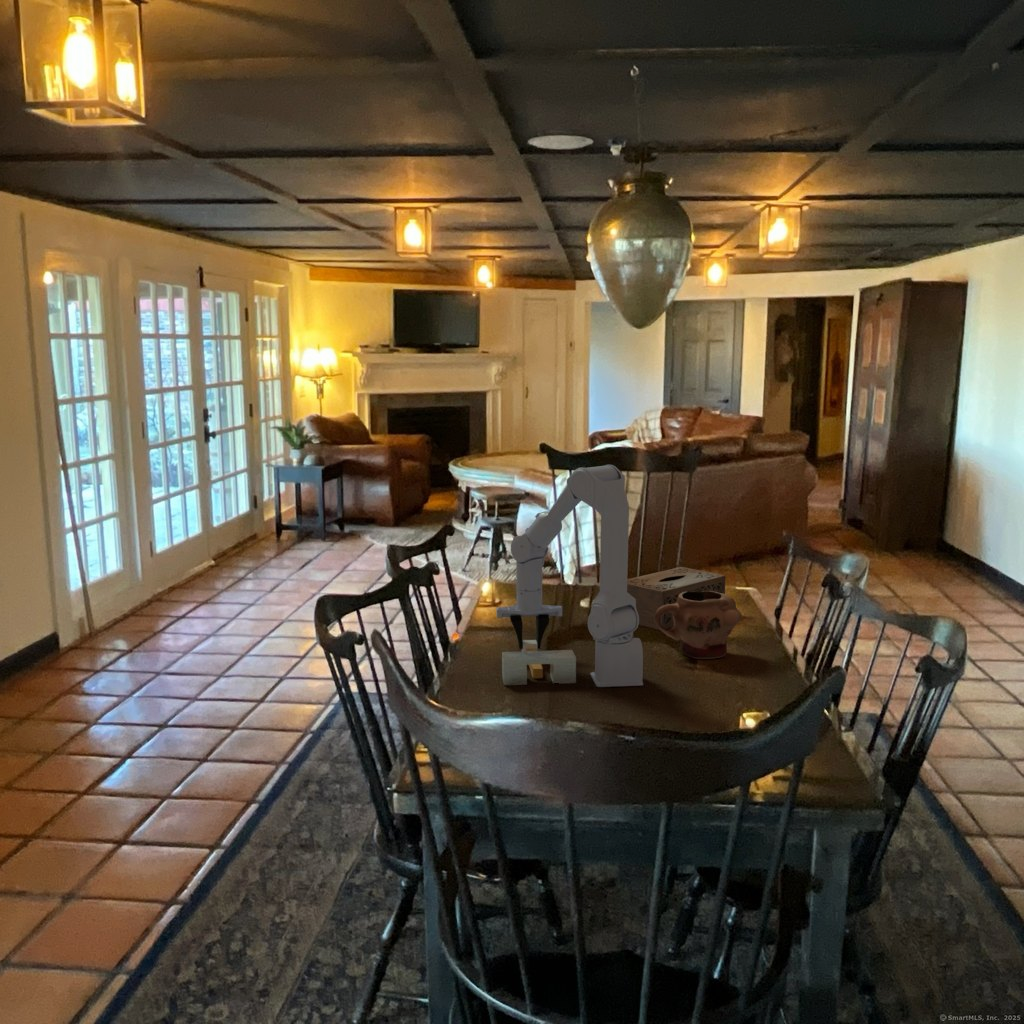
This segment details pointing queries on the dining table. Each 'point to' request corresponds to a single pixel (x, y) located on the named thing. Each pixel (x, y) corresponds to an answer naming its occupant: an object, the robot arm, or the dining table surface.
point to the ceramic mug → (701, 622)
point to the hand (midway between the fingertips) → (529, 647)
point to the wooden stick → (534, 668)
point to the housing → (518, 661)
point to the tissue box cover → (669, 591)
